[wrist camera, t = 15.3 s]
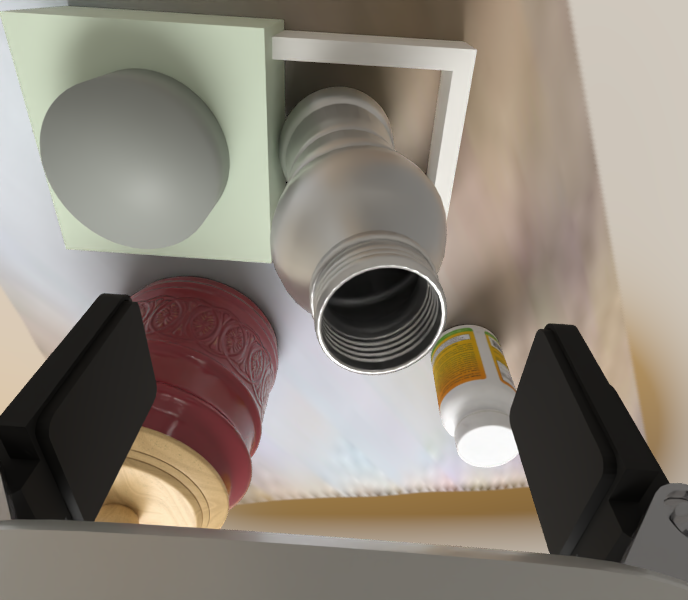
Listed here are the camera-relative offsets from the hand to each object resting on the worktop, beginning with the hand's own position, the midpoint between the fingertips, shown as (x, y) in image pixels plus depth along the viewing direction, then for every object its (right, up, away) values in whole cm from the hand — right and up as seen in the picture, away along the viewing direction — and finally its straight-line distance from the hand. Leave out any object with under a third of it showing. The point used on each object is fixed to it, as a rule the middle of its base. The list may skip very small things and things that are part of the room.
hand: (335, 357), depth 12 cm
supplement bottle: (+10, -2, +27) cm, 29 cm away
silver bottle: (0, +11, +19) cm, 22 cm away
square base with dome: (-4, +12, +19) cm, 23 cm away
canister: (-11, -2, +28) cm, 30 cm away
